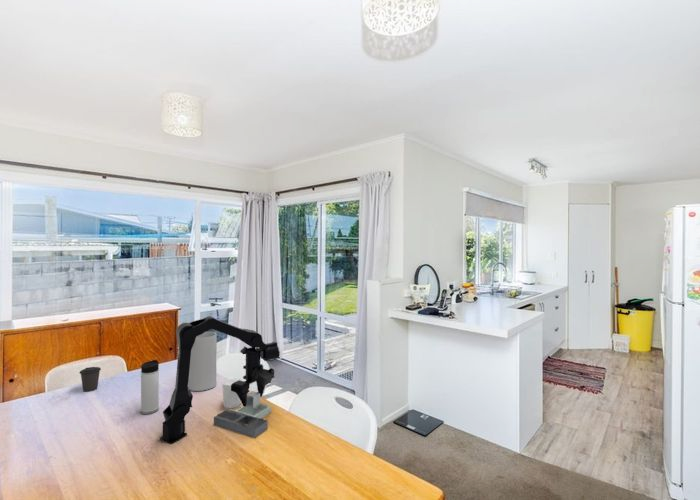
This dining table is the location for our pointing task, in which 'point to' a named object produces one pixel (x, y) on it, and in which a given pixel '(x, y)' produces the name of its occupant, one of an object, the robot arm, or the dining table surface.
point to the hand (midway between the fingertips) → (252, 401)
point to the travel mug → (150, 387)
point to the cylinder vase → (203, 362)
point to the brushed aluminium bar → (252, 403)
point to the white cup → (230, 394)
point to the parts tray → (263, 412)
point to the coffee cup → (90, 378)
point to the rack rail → (241, 423)
